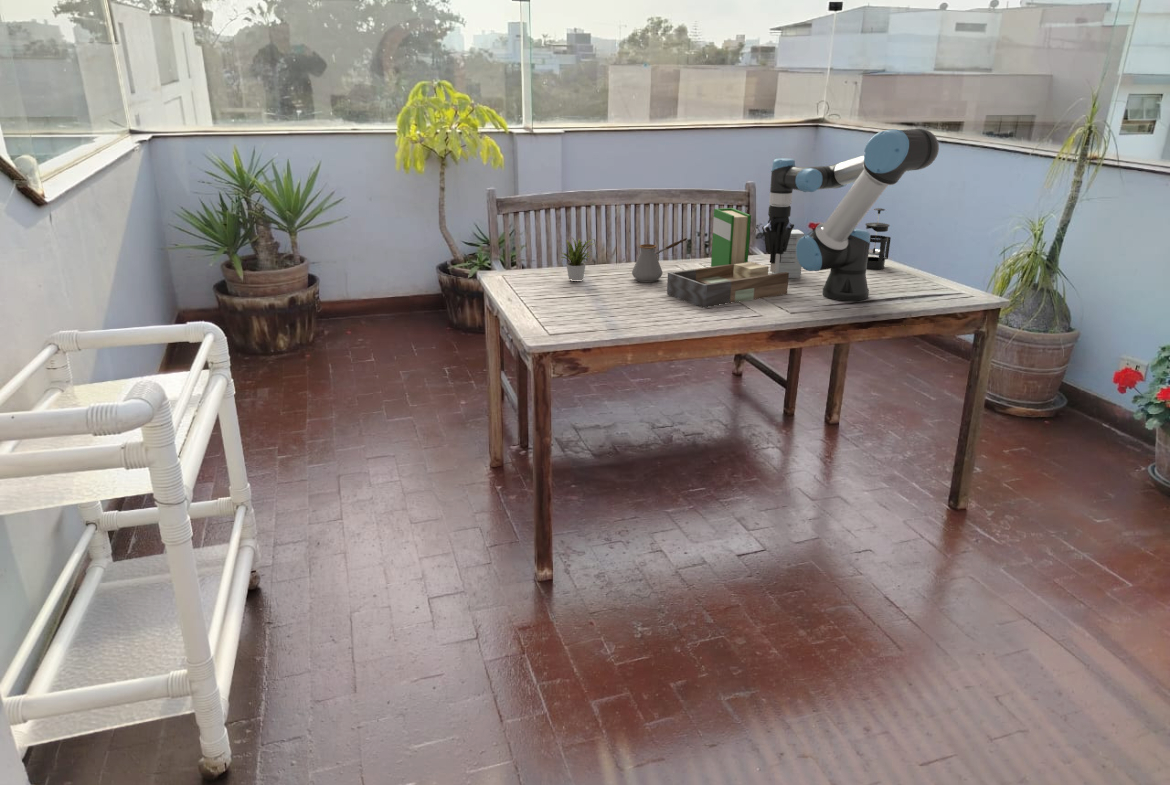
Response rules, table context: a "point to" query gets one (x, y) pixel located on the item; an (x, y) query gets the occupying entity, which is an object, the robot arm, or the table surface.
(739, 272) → the birch block
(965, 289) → the table surface
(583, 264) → the house plant
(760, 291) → the tray
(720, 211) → the hardback book
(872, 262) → the french press
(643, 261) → the coffee pot
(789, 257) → the supplement box
